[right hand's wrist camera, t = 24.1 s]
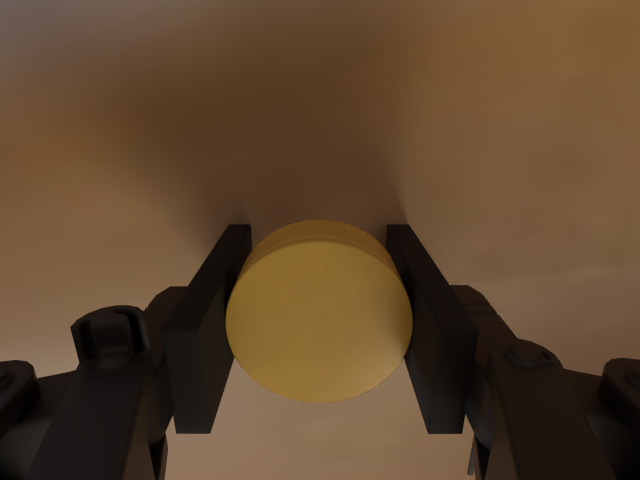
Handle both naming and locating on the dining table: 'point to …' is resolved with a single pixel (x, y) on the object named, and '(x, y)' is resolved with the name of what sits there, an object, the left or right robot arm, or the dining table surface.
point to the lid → (319, 312)
